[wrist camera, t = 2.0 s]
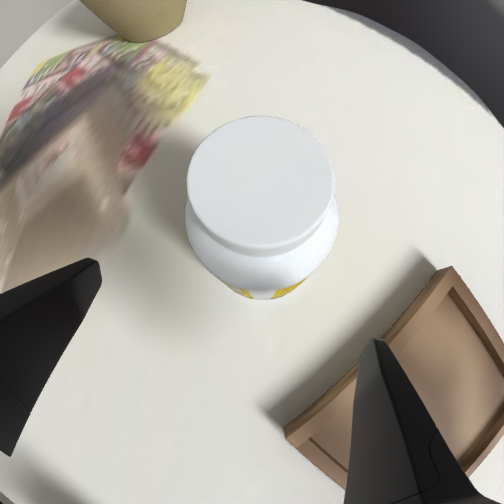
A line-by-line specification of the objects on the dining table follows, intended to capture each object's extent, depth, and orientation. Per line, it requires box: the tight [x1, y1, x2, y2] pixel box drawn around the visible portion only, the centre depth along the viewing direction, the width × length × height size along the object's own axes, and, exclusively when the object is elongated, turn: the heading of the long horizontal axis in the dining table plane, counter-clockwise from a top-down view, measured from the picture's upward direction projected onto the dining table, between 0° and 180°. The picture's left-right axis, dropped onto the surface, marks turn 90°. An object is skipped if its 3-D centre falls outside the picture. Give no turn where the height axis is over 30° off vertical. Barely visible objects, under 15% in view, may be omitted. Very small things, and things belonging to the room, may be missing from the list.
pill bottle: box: [185, 116, 339, 300], centre depth 15 cm, size 6×6×12 cm
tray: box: [283, 266, 504, 490], centre depth 16 cm, size 16×16×2 cm
